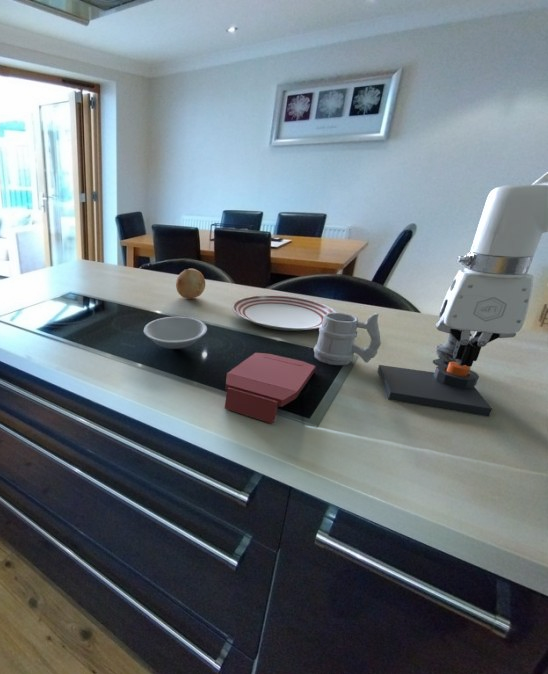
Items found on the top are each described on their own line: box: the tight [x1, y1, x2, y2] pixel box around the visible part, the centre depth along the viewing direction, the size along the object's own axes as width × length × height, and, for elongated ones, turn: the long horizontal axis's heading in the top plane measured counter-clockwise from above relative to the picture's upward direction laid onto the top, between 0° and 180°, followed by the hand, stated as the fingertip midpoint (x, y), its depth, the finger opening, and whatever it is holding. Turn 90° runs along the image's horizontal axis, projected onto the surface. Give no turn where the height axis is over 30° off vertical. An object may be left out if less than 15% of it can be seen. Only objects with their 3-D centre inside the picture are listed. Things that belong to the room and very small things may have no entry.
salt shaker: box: [432, 332, 473, 367], centre depth 80 cm, size 6×6×12 cm
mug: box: [313, 312, 382, 366], centre depth 83 cm, size 8×12×12 cm, turn 47°
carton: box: [224, 352, 316, 425], centre depth 76 cm, size 12×5×25 cm
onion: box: [175, 268, 206, 300], centre depth 131 cm, size 10×10×10 cm
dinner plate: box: [231, 294, 338, 332], centre depth 110 cm, size 28×27×3 cm
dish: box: [143, 316, 208, 350], centre depth 94 cm, size 18×14×5 cm
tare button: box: [446, 362, 471, 376], centre depth 72 cm, size 3×3×2 cm
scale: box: [376, 364, 493, 418], centre depth 72 cm, size 14×12×4 cm
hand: (462, 362), depth 72 cm, fingers closed
